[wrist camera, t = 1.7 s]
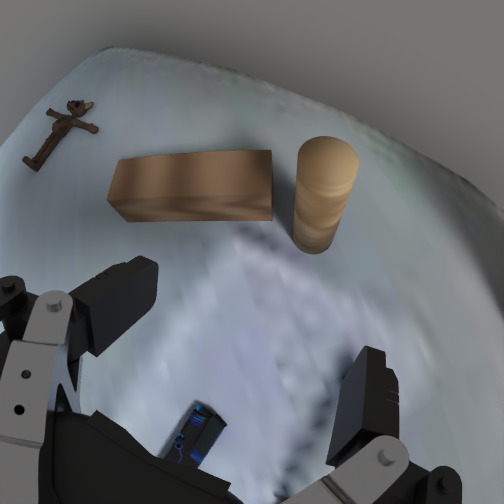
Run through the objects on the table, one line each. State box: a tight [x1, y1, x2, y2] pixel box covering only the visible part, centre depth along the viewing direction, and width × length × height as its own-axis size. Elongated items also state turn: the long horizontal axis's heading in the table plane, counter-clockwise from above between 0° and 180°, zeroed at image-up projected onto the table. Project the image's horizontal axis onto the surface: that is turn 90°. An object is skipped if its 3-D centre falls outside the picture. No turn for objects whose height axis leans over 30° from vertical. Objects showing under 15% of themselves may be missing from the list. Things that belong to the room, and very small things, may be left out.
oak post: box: [292, 136, 359, 254], centre depth 24 cm, size 4×4×12 cm
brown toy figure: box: [22, 100, 98, 172], centre depth 38 cm, size 18×4×14 cm
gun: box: [164, 405, 227, 468], centre depth 21 cm, size 24×3×15 cm
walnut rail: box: [107, 150, 273, 222], centre depth 30 cm, size 16×5×5 cm, turn 87°
